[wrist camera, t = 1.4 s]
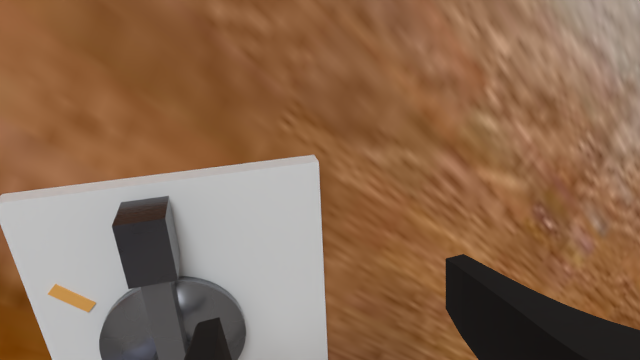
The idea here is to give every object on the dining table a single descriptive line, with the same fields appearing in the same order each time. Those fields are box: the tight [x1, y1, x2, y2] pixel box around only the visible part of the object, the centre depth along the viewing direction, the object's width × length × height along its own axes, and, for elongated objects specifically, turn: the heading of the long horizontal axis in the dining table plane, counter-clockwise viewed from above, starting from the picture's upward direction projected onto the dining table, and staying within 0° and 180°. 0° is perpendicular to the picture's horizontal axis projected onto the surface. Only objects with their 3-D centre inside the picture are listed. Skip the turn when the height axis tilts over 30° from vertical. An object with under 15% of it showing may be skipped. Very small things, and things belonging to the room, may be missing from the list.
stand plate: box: [0, 155, 328, 360], centre depth 23 cm, size 14×14×1 cm
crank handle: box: [99, 196, 246, 360], centre depth 21 cm, size 11×7×2 cm, turn 2°
